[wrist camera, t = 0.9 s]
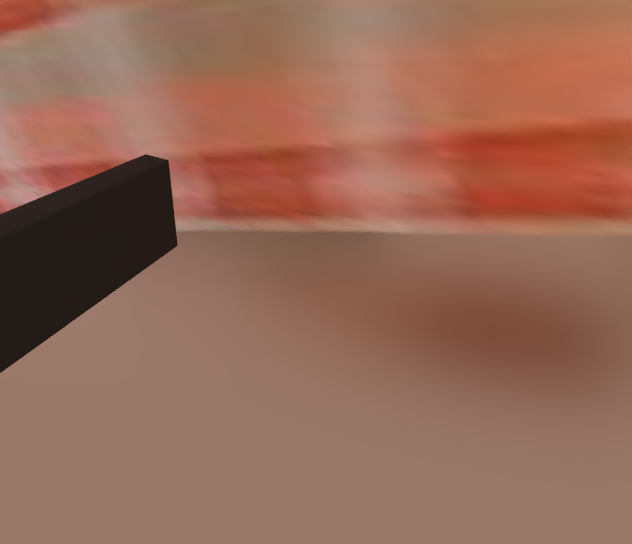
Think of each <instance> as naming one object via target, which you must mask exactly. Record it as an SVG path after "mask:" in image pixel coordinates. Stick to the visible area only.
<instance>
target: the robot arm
mask: <svg viewBox="0 0 632 544" xmlns="http://www.w3.org/2000/svg"><path fill="white" fill-rule="evenodd" d="M176 246H177V236H176V227H175V218H174V208H173V199H172V190H171V180H170V171H169V161H168V160H165V159H161V158H158V157H154V156H150V155H146V154H145V155H143V156H141V157H138V158H136V159H133V160H131V161H128V162H126V163H124V164H121V165H119V166H116V167H114V168H111V169H109V170H107V171H104V172H102V173H99V174H97V175H95V176H92V177H90V178H87V179H85V180H82V181H80V182H78V183H75V184H73V185H70V186H68V187H65V188H63V189H61V190H58V191H56V192H53V193H51V194H48V195H46V196H44V197H41V198H39V199H36V200H34V201H31V202H29V203H27V204H24V205H22V206H19V207H17V208H14V209H12V210H10V211H7V212H5V213H2V214H0V373H1V372H2V371H4V370H5V369H6V368H8V367H9V366H11V365H12V364H13V363H15V362H16V361H17V360H19V359H20V358H22V357H23V356H24V355H26V354H27V353H29V352H30V351H31V350H33V349H34V348H36V347H37V346H38V345H40V344H41V343H43V342H44V341H45V340H47V339H48V338H49V337H51V336H52V335H54V334H55V333H57V332H58V331H59V330H61V329H62V328H64V327H65V326H66V325H68V324H69V323H70V322H72V321H73V320H75V319H76V318H77V317H79V316H80V315H81V314H83V313H84V312H86V311H87V310H88V309H90V308H91V307H93V306H94V305H95V304H97V303H98V302H100V301H101V300H102V299H104V298H105V297H107V296H108V295H109V294H111V293H112V292H113V291H115V290H116V289H118V288H119V287H121V286H122V285H123V284H125V283H126V282H127V281H129V280H130V279H132V278H133V277H134V276H136V275H137V274H139V273H140V272H141V271H143V270H144V269H146V268H147V267H148V266H150V265H151V264H153V263H154V262H155V261H157V260H158V259H159V258H161V257H162V256H164V255H165V254H166V253H168V252H169V251H171V250H172V249H173V248H175V247H176Z"/></svg>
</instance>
